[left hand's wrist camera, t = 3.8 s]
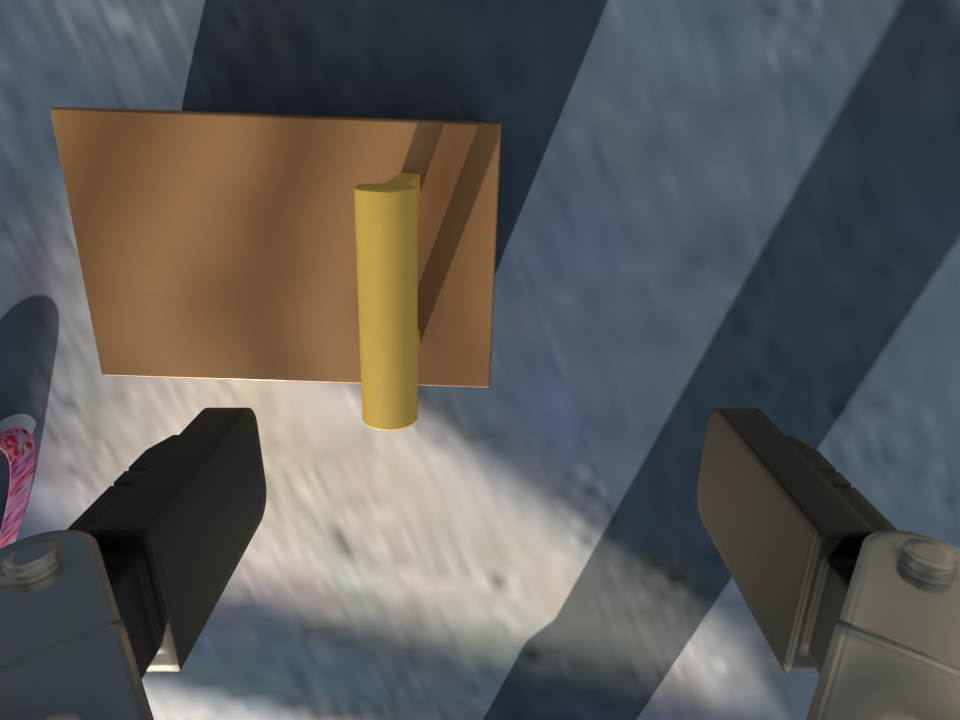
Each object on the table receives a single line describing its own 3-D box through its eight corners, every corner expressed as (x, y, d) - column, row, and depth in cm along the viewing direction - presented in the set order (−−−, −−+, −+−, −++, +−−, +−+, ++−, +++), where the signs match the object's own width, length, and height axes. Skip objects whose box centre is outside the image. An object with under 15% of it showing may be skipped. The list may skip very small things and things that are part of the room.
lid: (500, 123, 22) (510, 126, 15) (489, 379, 26) (493, 482, 18) (65, 107, 22) (-140, 101, 15) (114, 367, 26) (-32, 466, 18)
